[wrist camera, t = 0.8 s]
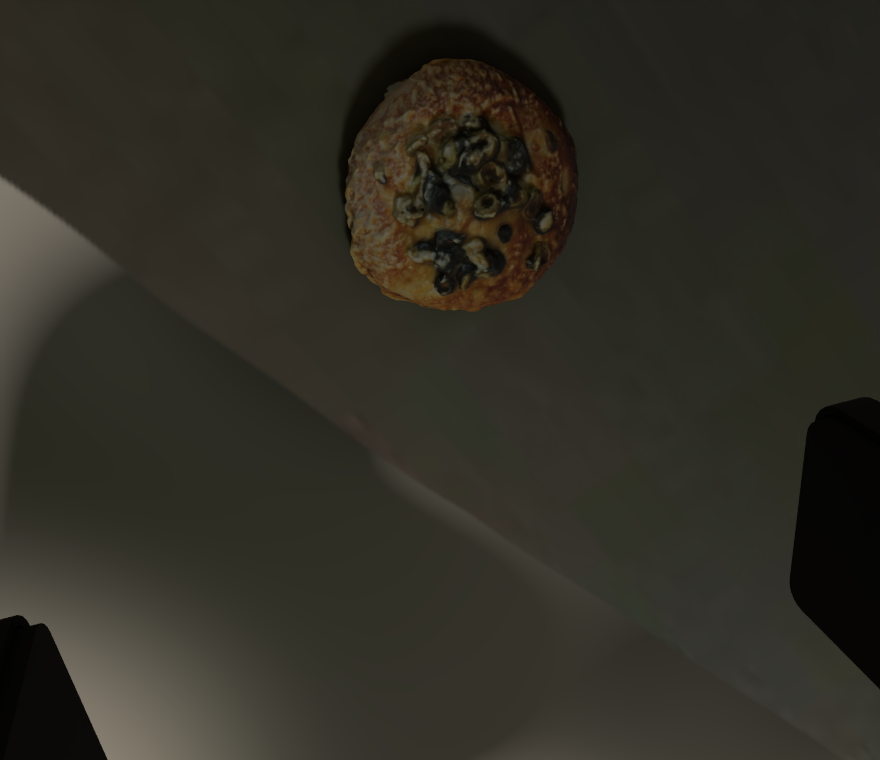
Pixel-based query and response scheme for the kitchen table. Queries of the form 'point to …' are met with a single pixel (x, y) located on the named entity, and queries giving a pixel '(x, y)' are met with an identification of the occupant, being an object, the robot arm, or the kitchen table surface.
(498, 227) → the bread roll
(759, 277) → the kitchen table surface
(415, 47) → the kitchen table surface
